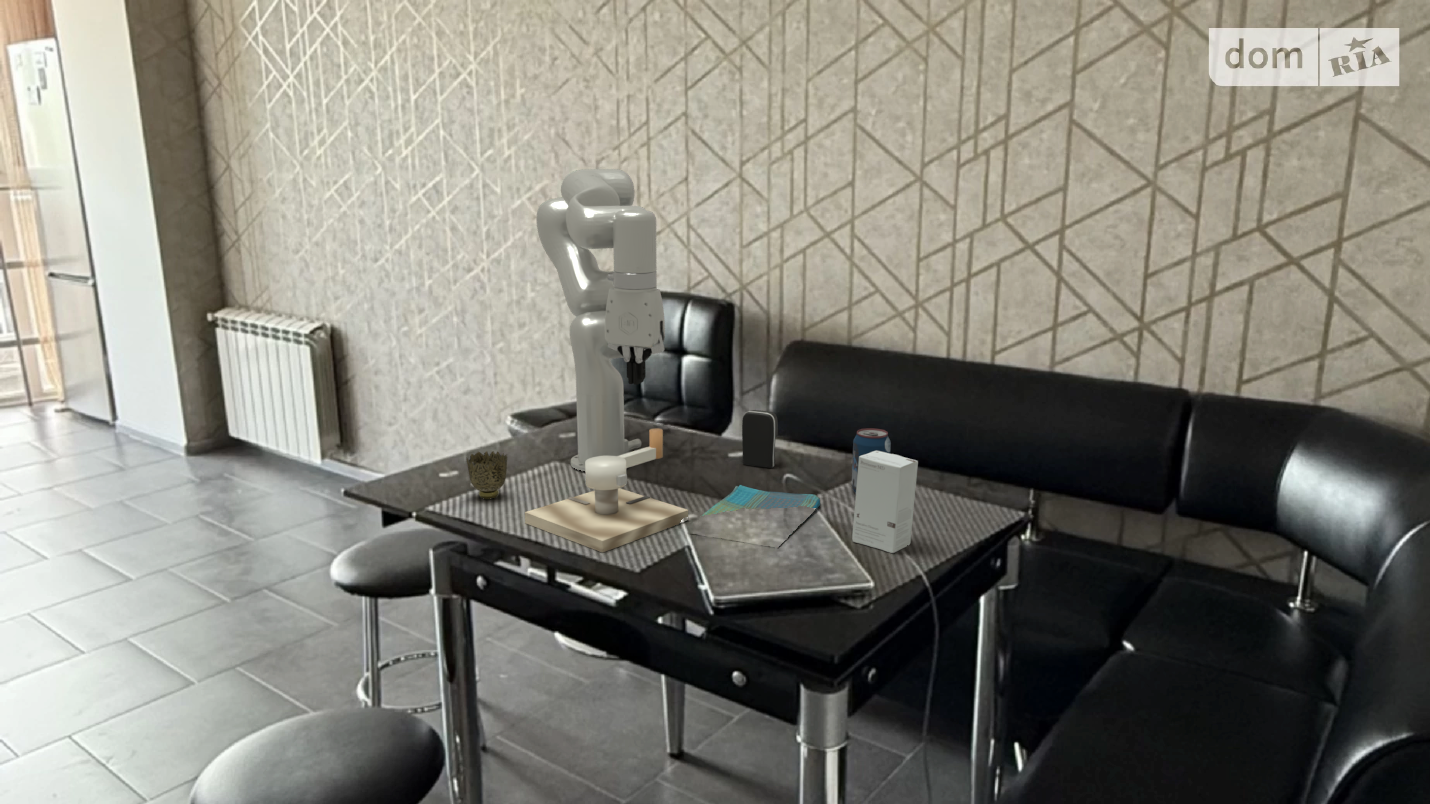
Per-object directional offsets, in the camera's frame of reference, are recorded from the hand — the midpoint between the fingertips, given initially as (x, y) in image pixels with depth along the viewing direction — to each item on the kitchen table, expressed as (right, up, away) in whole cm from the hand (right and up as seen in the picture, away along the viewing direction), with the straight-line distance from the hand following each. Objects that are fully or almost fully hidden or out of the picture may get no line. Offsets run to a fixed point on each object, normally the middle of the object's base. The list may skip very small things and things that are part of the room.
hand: (636, 382), depth 188 cm
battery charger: (+23, -17, +27) cm, 39 cm away
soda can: (+43, -21, +9) cm, 49 cm away
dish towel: (+22, -25, -4) cm, 33 cm away
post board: (-5, -24, -6) cm, 26 cm away
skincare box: (+42, -27, -16) cm, 52 cm away
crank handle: (-1, -17, -4) cm, 17 cm away
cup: (-28, -21, +6) cm, 36 cm away
